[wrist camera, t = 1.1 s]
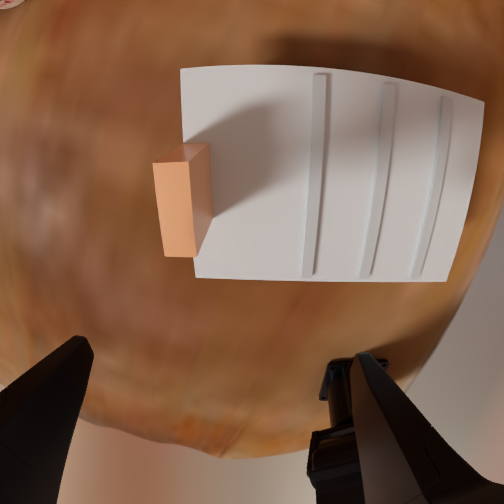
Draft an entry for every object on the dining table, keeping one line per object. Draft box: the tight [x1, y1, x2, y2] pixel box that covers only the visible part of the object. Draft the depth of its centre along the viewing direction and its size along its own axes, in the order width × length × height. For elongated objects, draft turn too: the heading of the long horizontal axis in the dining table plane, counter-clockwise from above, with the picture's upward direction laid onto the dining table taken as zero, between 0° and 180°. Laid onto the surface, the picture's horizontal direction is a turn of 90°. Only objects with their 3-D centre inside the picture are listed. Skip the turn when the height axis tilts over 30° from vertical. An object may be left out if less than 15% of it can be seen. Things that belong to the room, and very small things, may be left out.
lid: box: [153, 65, 485, 282], centre depth 14 cm, size 12×16×5 cm
